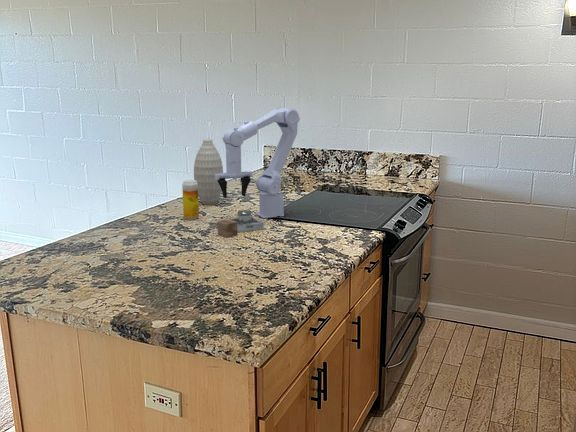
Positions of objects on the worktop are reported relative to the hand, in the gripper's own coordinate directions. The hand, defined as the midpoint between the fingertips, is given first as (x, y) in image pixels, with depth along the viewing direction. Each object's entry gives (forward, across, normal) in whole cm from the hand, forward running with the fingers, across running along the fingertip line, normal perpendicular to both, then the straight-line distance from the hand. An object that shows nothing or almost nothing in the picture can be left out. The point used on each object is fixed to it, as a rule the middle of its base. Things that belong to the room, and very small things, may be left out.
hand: (234, 196), depth 225 cm
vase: (+10, 0, -33) cm, 34 cm away
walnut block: (+10, +9, +17) cm, 22 cm away
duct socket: (+10, 0, +10) cm, 14 cm away
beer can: (+10, +14, -11) cm, 21 cm away
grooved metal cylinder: (+10, 0, +10) cm, 14 cm away
